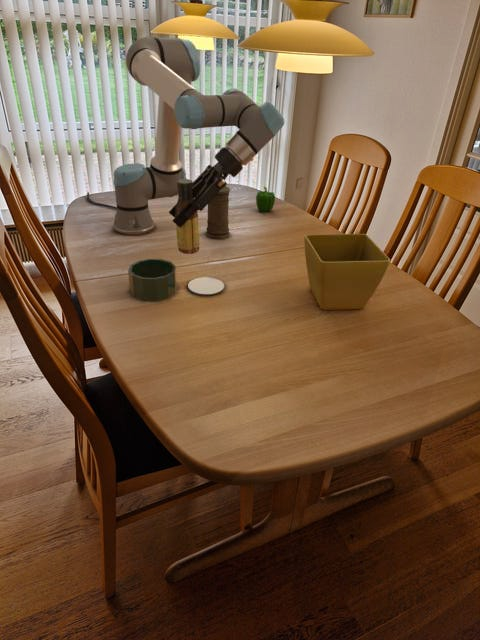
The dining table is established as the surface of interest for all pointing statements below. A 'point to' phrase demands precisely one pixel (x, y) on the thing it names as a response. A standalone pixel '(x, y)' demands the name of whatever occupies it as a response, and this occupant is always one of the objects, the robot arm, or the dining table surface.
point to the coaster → (206, 286)
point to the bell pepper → (265, 200)
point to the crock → (152, 279)
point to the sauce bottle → (190, 229)
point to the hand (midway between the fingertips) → (174, 219)
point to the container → (218, 215)
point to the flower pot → (343, 269)
